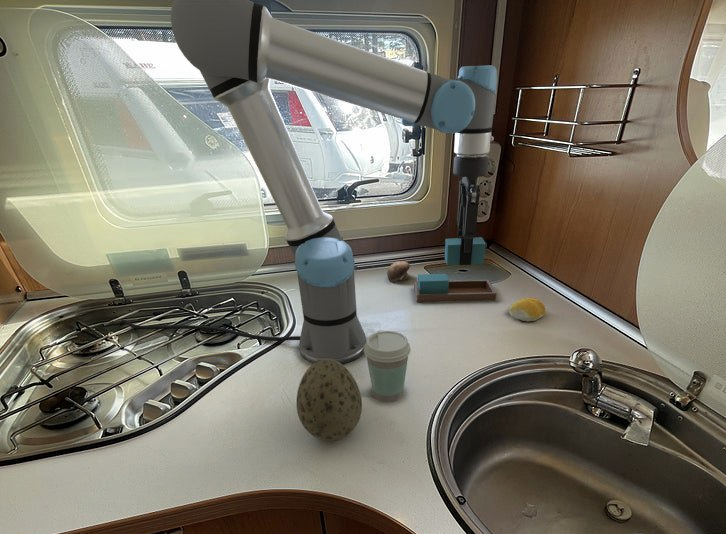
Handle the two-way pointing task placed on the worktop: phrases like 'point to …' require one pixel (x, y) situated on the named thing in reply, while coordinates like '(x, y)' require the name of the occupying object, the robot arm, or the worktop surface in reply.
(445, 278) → the turquoise block
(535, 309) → the bread roll
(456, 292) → the brown shallow rectangular tray
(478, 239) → the teal rectangular block
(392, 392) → the coffee cup
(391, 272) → the mushroom
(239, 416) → the worktop surface
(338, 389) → the decorative egg
